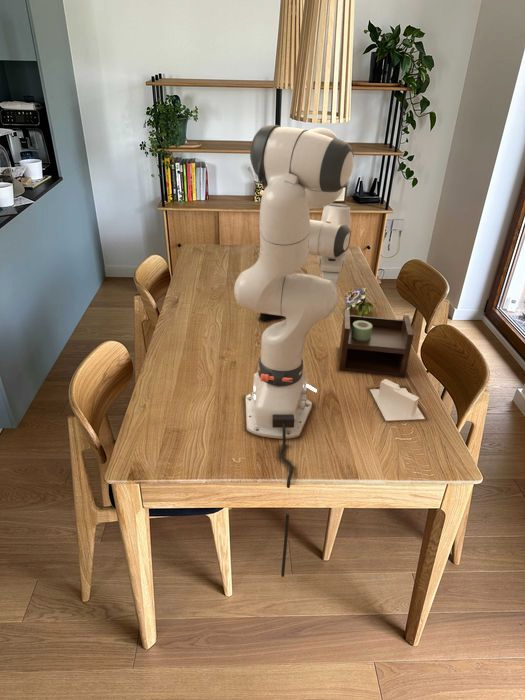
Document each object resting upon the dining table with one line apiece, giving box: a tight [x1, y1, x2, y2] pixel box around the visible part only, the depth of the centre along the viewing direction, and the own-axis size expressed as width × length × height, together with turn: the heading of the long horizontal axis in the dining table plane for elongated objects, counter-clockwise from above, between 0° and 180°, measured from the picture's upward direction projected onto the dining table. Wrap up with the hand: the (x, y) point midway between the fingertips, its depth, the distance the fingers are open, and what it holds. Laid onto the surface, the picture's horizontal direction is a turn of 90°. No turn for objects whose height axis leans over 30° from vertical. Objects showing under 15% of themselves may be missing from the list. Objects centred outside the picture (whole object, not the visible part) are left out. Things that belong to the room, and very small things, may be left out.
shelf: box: [338, 309, 415, 378], centre depth 158 cm, size 14×20×15 cm
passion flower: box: [345, 287, 377, 317], centre depth 192 cm, size 11×11×12 cm
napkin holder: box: [369, 378, 426, 422], centre depth 141 cm, size 15×11×6 cm
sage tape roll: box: [351, 321, 372, 341], centre depth 155 cm, size 6×6×4 cm
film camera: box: [259, 313, 286, 322], centre depth 187 cm, size 15×10×9 cm, turn 115°
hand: (327, 297), depth 160 cm, fingers closed on cream tape roll, 6 cm apart
